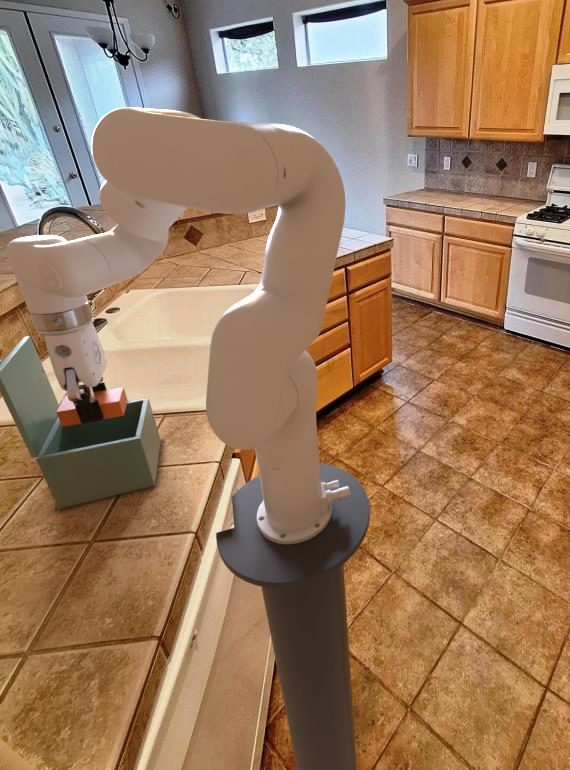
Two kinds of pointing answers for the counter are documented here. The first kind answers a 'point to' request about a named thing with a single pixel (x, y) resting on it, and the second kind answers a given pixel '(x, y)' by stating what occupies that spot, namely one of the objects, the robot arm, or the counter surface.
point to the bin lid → (28, 395)
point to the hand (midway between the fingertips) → (96, 411)
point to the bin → (101, 456)
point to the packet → (108, 399)
